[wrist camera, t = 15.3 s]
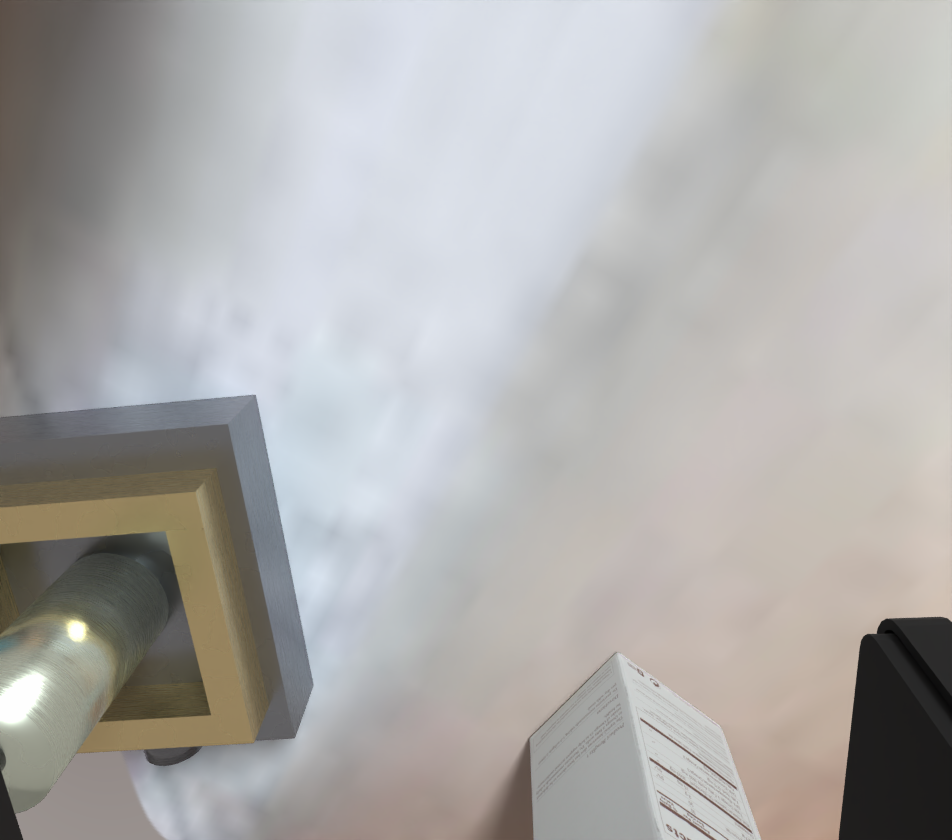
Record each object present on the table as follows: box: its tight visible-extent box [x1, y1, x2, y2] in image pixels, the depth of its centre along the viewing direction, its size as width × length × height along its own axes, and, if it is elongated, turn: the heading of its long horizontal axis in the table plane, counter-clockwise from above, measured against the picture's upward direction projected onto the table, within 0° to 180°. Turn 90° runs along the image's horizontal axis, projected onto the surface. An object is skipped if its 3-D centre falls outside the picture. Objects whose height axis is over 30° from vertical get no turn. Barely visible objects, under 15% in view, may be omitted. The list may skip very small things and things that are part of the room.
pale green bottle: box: [0, 553, 169, 814], centre depth 32 cm, size 5×5×12 cm
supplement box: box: [529, 652, 761, 840], centre depth 38 cm, size 7×7×13 cm
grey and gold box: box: [0, 395, 313, 766], centre depth 39 cm, size 18×14×6 cm
